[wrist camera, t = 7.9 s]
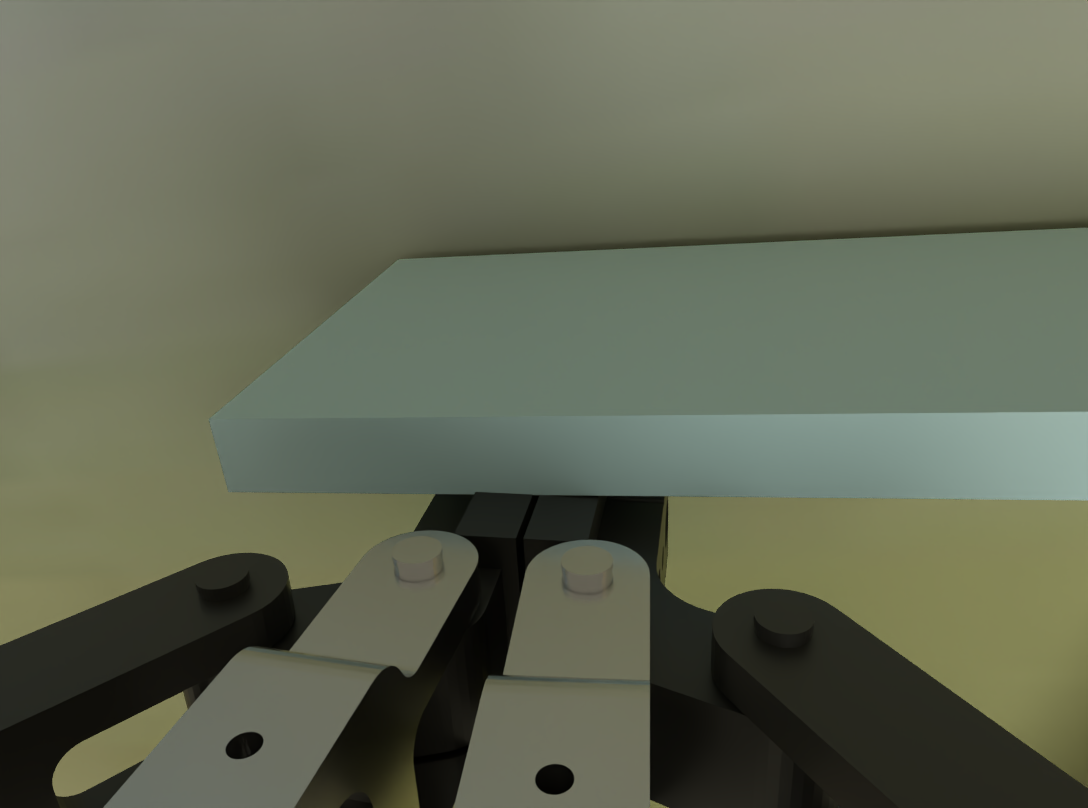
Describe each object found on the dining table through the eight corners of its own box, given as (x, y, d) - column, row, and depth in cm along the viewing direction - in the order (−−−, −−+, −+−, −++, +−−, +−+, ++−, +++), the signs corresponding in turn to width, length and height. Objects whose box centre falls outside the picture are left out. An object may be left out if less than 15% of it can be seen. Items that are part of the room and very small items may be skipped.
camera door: (409, 312, 17) (226, 503, 11) (399, 252, 17) (202, 415, 10) (1607, 272, 14) (2406, 530, 7) (1639, 193, 13) (2529, 393, 7)
